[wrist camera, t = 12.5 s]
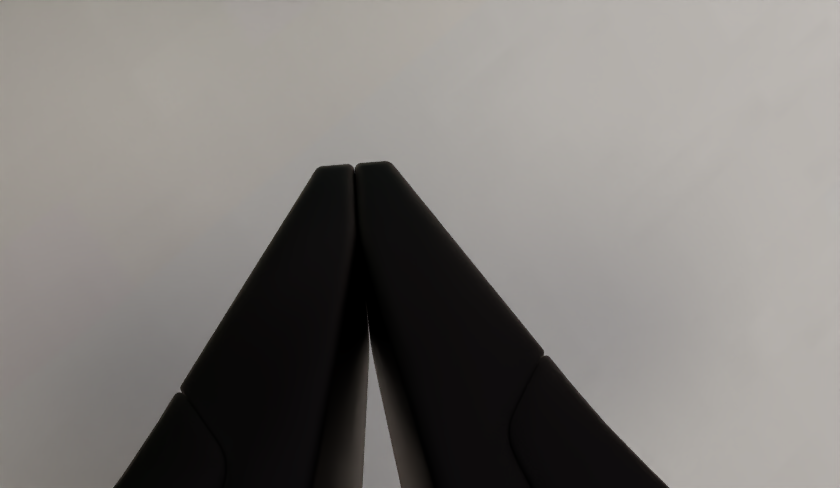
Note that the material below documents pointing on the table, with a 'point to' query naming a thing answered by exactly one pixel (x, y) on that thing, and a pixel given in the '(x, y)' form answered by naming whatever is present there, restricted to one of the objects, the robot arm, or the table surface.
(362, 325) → the robot arm
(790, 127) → the table surface
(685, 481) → the table surface
